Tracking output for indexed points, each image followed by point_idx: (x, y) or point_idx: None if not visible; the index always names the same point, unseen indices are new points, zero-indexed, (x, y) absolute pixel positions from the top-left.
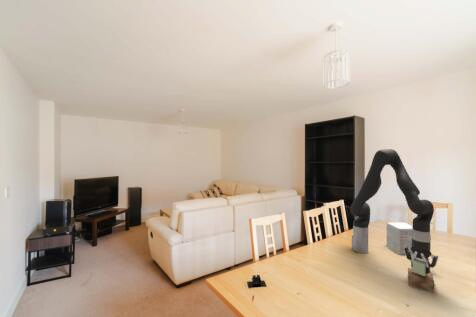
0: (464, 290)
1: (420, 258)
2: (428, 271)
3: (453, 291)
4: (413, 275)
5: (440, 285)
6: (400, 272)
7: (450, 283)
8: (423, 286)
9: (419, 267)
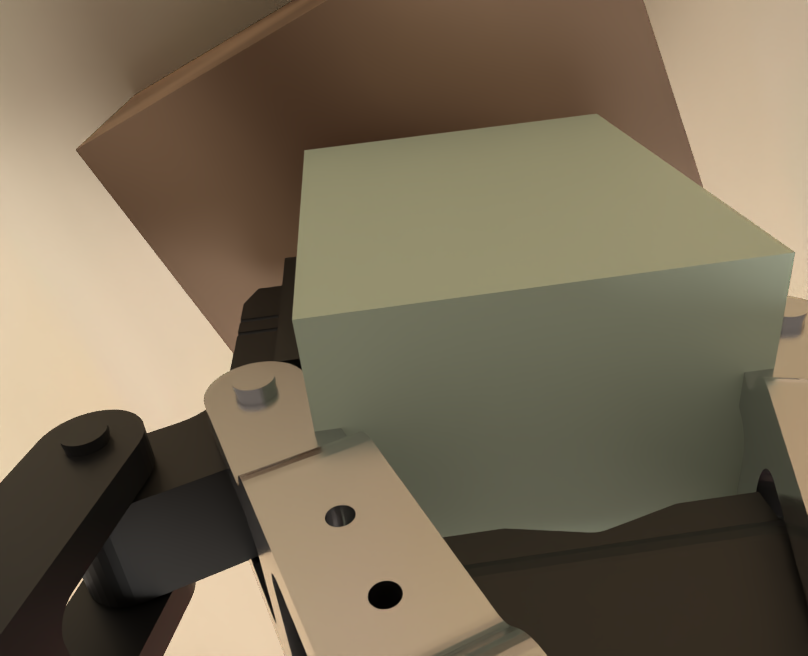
0: None
1: (566, 536)
2: (251, 321)
3: (50, 416)
4: (522, 31)
5: None
6: None
7: (214, 581)
8: (280, 14)
9: (456, 206)
